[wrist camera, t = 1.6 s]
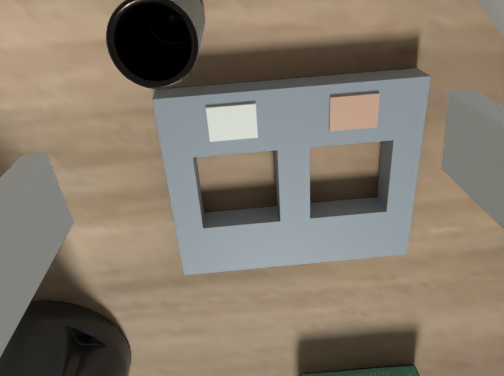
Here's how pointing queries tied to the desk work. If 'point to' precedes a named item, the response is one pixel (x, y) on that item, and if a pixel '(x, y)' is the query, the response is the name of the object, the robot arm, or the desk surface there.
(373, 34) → the desk surface
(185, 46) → the grey hollow cylinder
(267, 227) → the socket board
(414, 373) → the box
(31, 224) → the robot arm
